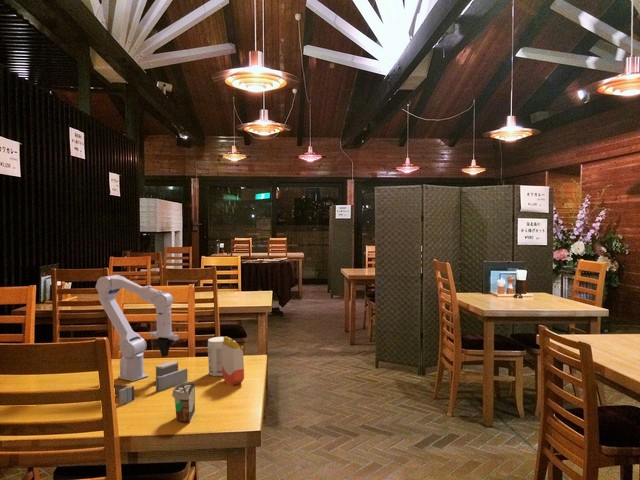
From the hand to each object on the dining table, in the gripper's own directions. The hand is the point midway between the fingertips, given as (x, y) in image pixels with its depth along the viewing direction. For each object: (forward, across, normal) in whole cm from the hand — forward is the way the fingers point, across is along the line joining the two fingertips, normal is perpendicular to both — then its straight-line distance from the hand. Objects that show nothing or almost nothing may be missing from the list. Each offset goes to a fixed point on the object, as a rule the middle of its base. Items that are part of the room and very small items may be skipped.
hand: (164, 356), depth 195 cm
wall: (+10, +8, -12) cm, 18 cm away
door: (+10, +3, -22) cm, 24 cm away
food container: (+10, +36, -25) cm, 45 cm away
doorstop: (+10, 0, +1) cm, 10 cm away
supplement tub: (+10, +14, +17) cm, 24 cm away
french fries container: (+10, +27, +10) cm, 31 cm away
